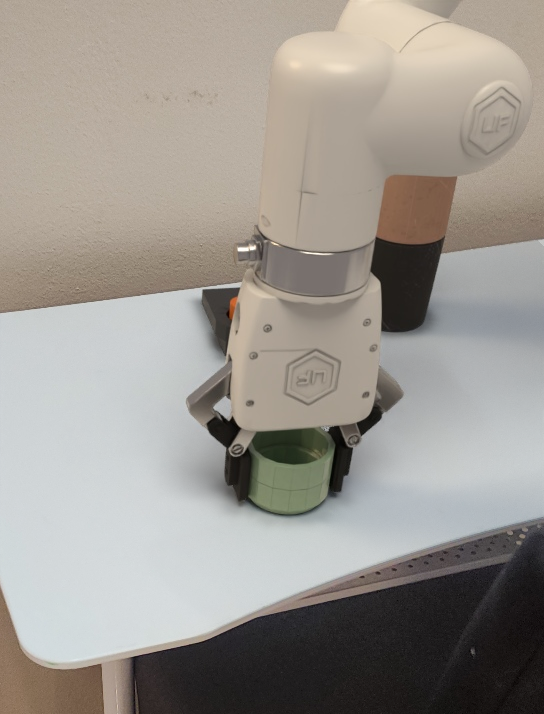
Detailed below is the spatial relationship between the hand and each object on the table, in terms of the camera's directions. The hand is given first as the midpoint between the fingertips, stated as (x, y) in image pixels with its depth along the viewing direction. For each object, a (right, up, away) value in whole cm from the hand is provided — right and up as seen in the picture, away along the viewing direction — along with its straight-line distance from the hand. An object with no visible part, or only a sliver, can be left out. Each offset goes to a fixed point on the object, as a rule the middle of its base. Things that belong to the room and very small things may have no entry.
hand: (285, 484), depth 77 cm
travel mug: (+13, +20, +23) cm, 33 cm away
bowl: (0, -1, 0) cm, 1 cm away
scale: (+1, +19, +20) cm, 28 cm away
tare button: (-2, +18, +15) cm, 24 cm away
